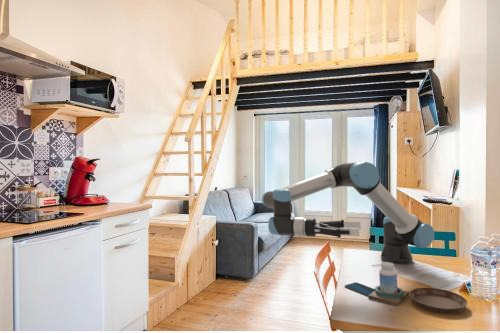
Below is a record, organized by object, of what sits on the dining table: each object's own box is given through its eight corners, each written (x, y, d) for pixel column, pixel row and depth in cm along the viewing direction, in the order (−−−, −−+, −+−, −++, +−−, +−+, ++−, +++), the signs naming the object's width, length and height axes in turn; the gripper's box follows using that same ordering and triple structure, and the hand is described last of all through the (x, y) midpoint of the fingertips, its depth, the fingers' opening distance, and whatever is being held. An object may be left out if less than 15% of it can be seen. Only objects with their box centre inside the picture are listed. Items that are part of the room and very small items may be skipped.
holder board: (381, 288, 129) (381, 281, 129) (409, 294, 122) (409, 287, 122) (368, 298, 120) (368, 291, 120) (397, 306, 112) (397, 298, 112)
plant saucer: (468, 321, 101) (468, 311, 101) (406, 309, 110) (406, 300, 110) (466, 301, 116) (466, 292, 116) (412, 292, 125) (412, 284, 125)
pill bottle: (399, 297, 117) (398, 266, 117) (381, 296, 118) (380, 265, 119) (395, 290, 123) (394, 261, 123) (378, 290, 124) (377, 261, 125)
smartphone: (356, 284, 136) (356, 281, 136) (387, 295, 123) (387, 293, 123) (343, 287, 132) (343, 285, 132) (373, 300, 119) (373, 297, 119)
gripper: (311, 230, 144) (361, 231, 136) (299, 242, 120) (358, 246, 113) (310, 213, 144) (360, 214, 136) (298, 223, 120) (358, 224, 113)
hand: (359, 228), depth 124 cm, fingers open, 13 cm apart
